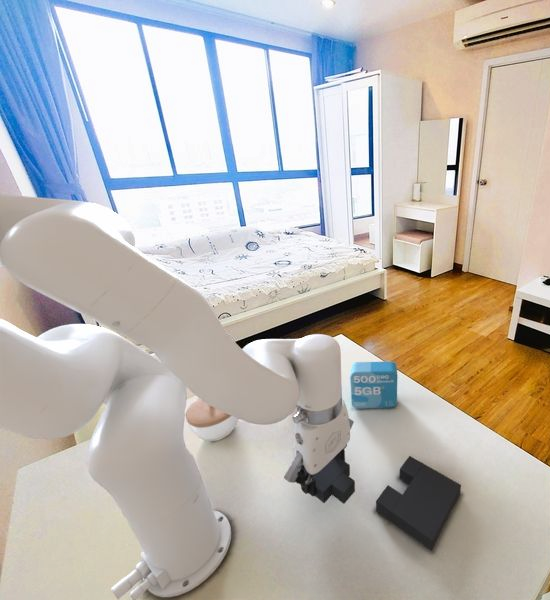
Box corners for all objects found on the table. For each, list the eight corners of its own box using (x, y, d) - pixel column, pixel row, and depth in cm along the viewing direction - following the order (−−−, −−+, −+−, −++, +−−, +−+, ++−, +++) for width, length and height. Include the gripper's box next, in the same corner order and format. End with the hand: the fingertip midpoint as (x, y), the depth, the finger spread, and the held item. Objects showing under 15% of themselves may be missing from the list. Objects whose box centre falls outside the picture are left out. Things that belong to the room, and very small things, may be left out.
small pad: (336, 513, 56) (335, 502, 55) (297, 482, 61) (296, 472, 60) (361, 483, 62) (361, 472, 61) (324, 457, 67) (323, 447, 65)
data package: (351, 409, 85) (349, 372, 80) (352, 397, 89) (351, 361, 84) (396, 407, 86) (397, 371, 81) (395, 396, 90) (396, 360, 85)
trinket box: (225, 408, 84) (217, 380, 80) (253, 424, 80) (246, 394, 76) (183, 437, 76) (172, 407, 72) (212, 456, 71) (202, 425, 67)
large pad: (431, 550, 55) (432, 540, 54) (376, 511, 61) (375, 501, 60) (459, 494, 64) (461, 484, 63) (409, 465, 70) (409, 455, 69)
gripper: (293, 449, 46) (302, 526, 53) (368, 386, 60) (367, 454, 67) (261, 425, 50) (273, 500, 57) (338, 371, 63) (340, 437, 70)
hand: (324, 475), depth 62 cm, fingers closed on small pad, 7 cm apart
